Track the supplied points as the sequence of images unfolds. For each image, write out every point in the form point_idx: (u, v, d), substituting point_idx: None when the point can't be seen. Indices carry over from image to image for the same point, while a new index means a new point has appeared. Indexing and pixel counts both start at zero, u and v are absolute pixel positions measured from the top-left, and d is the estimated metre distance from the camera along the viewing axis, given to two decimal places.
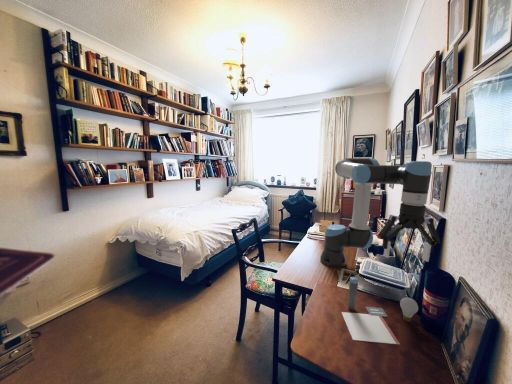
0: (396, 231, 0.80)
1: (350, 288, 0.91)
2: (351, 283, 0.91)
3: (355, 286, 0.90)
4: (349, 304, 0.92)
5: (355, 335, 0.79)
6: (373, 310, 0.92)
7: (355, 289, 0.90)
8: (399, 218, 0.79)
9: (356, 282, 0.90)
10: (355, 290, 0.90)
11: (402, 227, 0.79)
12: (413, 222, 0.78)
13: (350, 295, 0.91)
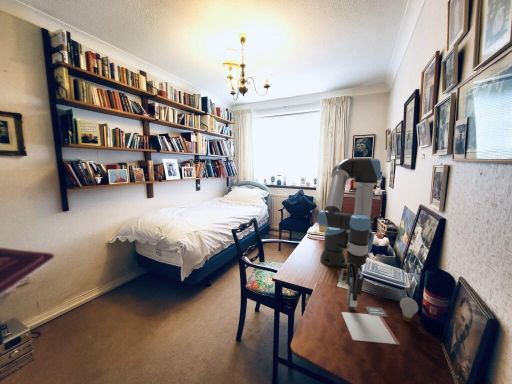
0: (349, 275, 0.93)
1: (350, 288, 0.91)
2: (351, 283, 0.90)
3: None
4: (349, 304, 0.92)
5: (355, 335, 0.79)
6: (373, 310, 0.92)
7: None
8: None
9: None
10: None
11: (349, 270, 0.92)
12: None
13: (350, 295, 0.91)
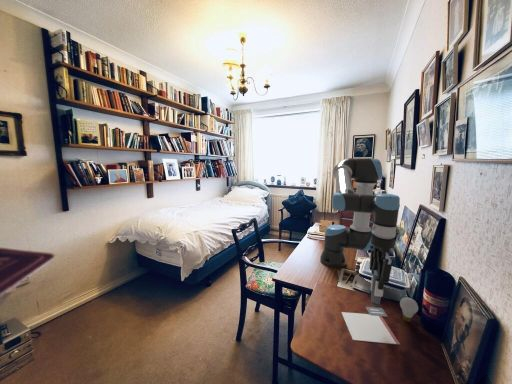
0: (374, 262, 0.84)
1: (374, 282, 0.82)
2: (375, 276, 0.82)
3: None
4: (373, 300, 0.83)
5: (355, 335, 0.79)
6: (373, 310, 0.92)
7: None
8: None
9: None
10: None
11: (373, 256, 0.83)
12: None
13: (374, 290, 0.82)
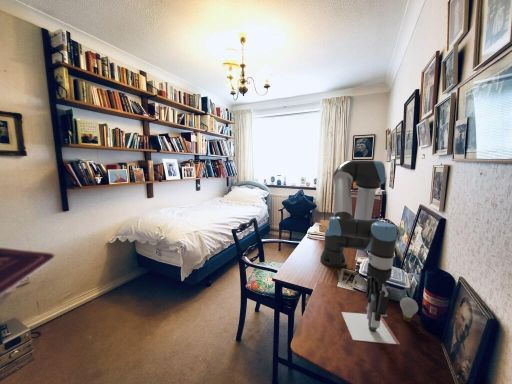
0: (370, 290, 0.82)
1: (371, 306, 0.80)
2: (372, 301, 0.79)
3: None
4: (370, 324, 0.81)
5: (355, 335, 0.79)
6: None
7: None
8: None
9: None
10: None
11: (370, 285, 0.81)
12: None
13: (371, 314, 0.80)
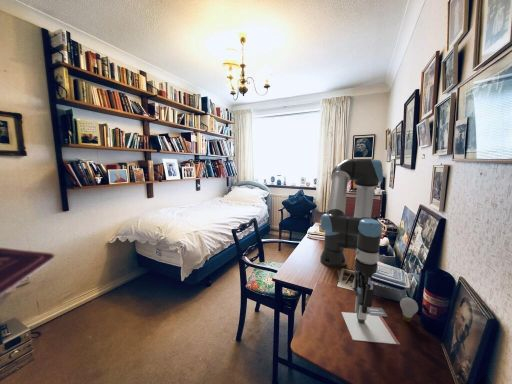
0: (357, 284, 0.86)
1: (359, 300, 0.83)
2: (360, 294, 0.83)
3: None
4: None
5: (355, 335, 0.79)
6: (373, 310, 0.92)
7: None
8: None
9: None
10: None
11: (357, 279, 0.85)
12: None
13: None
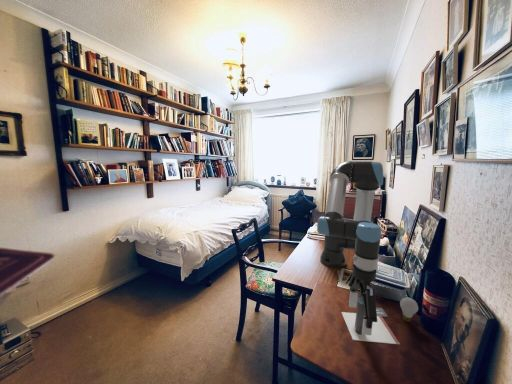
0: (353, 285, 0.83)
1: (358, 309, 0.78)
2: (360, 304, 0.77)
3: None
4: (357, 327, 0.79)
5: (355, 335, 0.79)
6: None
7: (364, 311, 0.77)
8: None
9: None
10: (364, 312, 0.77)
11: (354, 283, 0.81)
12: None
13: (358, 317, 0.78)
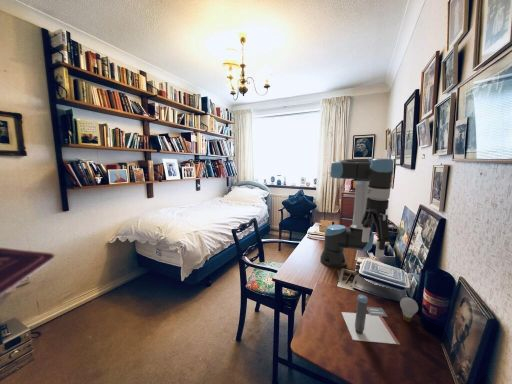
0: (366, 220, 0.91)
1: (358, 308, 0.79)
2: (360, 303, 0.78)
3: (365, 306, 0.77)
4: (357, 327, 0.79)
5: (355, 335, 0.79)
6: (373, 310, 0.92)
7: (364, 309, 0.78)
8: None
9: (365, 301, 0.77)
10: (364, 311, 0.78)
11: (367, 216, 0.89)
12: None
13: (358, 316, 0.79)
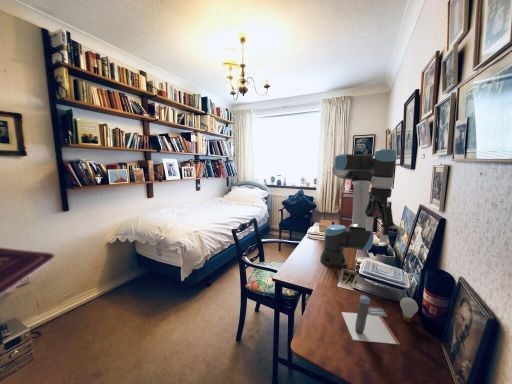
0: (370, 209, 0.95)
1: (360, 309, 0.78)
2: (362, 303, 0.77)
3: (367, 307, 0.77)
4: (358, 327, 0.79)
5: (355, 335, 0.79)
6: (373, 310, 0.92)
7: (366, 310, 0.77)
8: None
9: (368, 302, 0.77)
10: (366, 311, 0.77)
11: (371, 205, 0.94)
12: None
13: (360, 317, 0.78)
